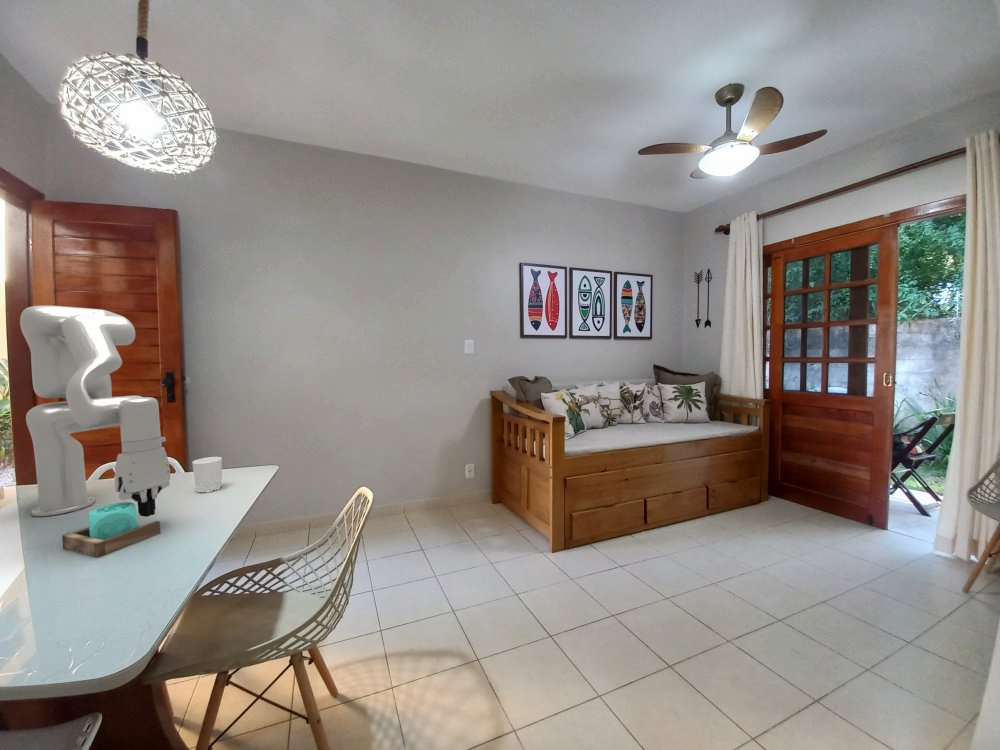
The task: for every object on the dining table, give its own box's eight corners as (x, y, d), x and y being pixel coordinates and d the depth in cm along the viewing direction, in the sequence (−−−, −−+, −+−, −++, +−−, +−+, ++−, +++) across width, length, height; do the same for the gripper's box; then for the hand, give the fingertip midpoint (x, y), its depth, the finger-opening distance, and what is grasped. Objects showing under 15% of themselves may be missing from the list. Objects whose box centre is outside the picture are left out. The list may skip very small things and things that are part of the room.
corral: (63, 548, 92) (61, 534, 92) (126, 526, 103) (125, 514, 103) (98, 557, 88) (97, 542, 87) (160, 532, 99) (159, 520, 99)
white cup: (207, 494, 126) (206, 463, 125) (187, 493, 128) (185, 462, 127) (229, 486, 134) (227, 457, 133) (210, 484, 135) (208, 456, 135)
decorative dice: (90, 541, 95) (87, 509, 95) (134, 529, 101) (132, 499, 101) (91, 552, 90) (88, 518, 89) (138, 539, 96) (136, 507, 95)
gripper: (164, 438, 109) (168, 503, 110) (95, 452, 95) (101, 525, 96) (183, 439, 107) (188, 505, 108) (116, 453, 92) (122, 529, 94)
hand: (147, 514), depth 102 cm, fingers closed
